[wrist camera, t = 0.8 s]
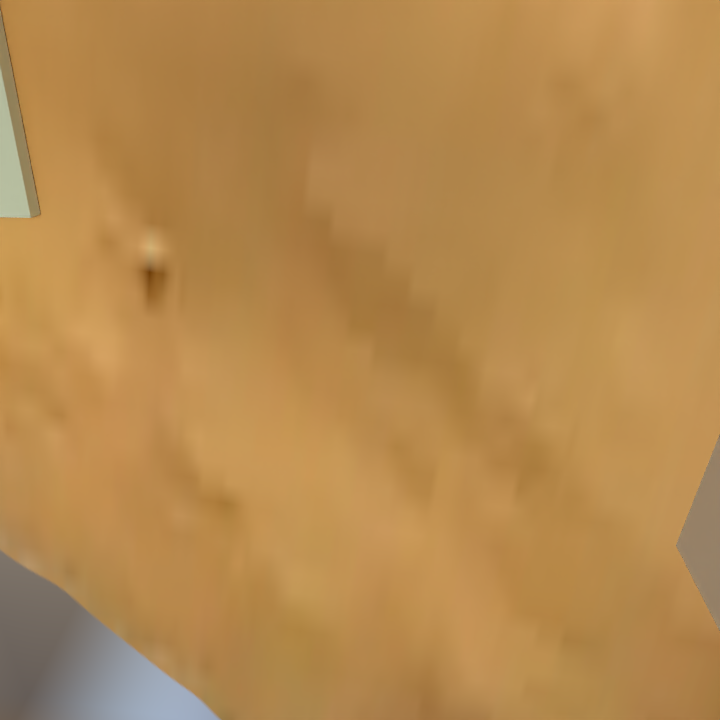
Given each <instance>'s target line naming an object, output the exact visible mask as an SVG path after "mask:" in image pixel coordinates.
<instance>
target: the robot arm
mask: <svg viewBox="0 0 720 720" xmlns="http://www.w3.org/2000/svg"><path fill="white" fill-rule="evenodd" d="M676 546H677V548H678V550H679V552H680V554H681V556H682V558H683V560H684V562H685V564H686V566H687V568H688V570H689V572H690V574H691V576H692V578H693V580H694V582H695V584H696V586H697V588H698V589H699V591H700V593H701V595H702V597H703V599H704V601H705V603H706V605H707V607H708V609H709V611H710V613H711V615H712V617H713V619H714V621H715V623H716V625H717V627H718V629H719V631H720V435H719V438H718V440H717V443H716V445H715V448H714V450H713V453H712V455H711V458H710V460H709V463H708V466H707V468H706V471H705V473H704V476H703V478H702V481H701V483H700V486H699V488H698V491H697V493H696V496H695V498H694V501H693V504H692V506H691V509H690V511H689V514H688V516H687V519H686V521H685V524H684V526H683V529H682V531H681V534H680V536H679V539H678V542H677V544H676Z"/></svg>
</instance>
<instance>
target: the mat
mask: <svg viewBox="0 0 720 720" xmlns="http://www.w3.org/2000/svg"><path fill="white" fill-rule="evenodd" d="M37 215H40V209H39V204H38V199H37V194H36V189H35V184H34V179H33V174H32V169H31V163H30V158H29V153H28V148H27V143H26V138H25V133H24V128H23V123H22V117H21V112H20V107H19V102H18V97H17V92H16V87H15V82H14V77H13V71H12V66H11V61H10V56H9V51H8V46H7V41H6V36H5V31H4V26H3V20H2V15H1V10H0V217H19V218H31V217H34V216H37Z"/></svg>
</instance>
